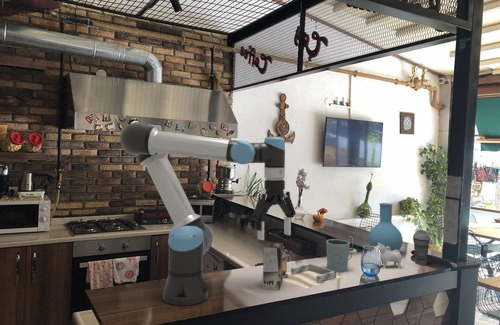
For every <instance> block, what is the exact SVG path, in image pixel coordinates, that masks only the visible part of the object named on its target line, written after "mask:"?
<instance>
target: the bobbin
mask: <svg viewBox="0 0 500 325" xmlns="http://www.w3.org/2000/svg"><path fill="white" fill-rule="evenodd" d="M288 258H289V254H287V253H283V279H284V278H287V277H288V274H286V273H287V272H288V271H287V269H288V268H287V266H288V260H287V259H288Z"/></svg>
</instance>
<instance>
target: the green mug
mask: <svg viewBox="0 0 500 325" xmlns="http://www.w3.org/2000/svg"><path fill="white" fill-rule="evenodd" d="M325 243H326V269H330V270H333V271H336V273H343V272H344V273H345V272H347V271H348V265H349V256H350V246H351V242H350V241H348V240H345V239H340V238H331V239H327V240H326V242H325Z"/></svg>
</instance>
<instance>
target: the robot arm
mask: <svg viewBox="0 0 500 325" xmlns="http://www.w3.org/2000/svg"><path fill="white" fill-rule="evenodd" d="M119 141H120V146H121V147H122V148H123V150H124V151H125V152H126V153H128V154H129V155H132V156H135V157H136V159H137V161H138V163H139V165H140V166H142V167H145V168H146V170H147V172H148V174H149V175H150V177H151V179H152V182H153V184H154V186H155V189H156V190H157V192H158V194H159V196H160V198H161V200H162V202H163V204H164V206H165V208H166V210H167V212H168V215H169V216H170V218H171V221H172V222H173V227H172V230H171V231H170V232H169V233H168V240H167V244H168V263H167V264H168V267H167V268H168V271H167V272H168V273H167V274H168V276H167V279H166V281H165V285H164V288H163V291H162V300H163V302H165V303H167V304H170V305H174V306H175V305H176V306H191V305H192V306H193V305H196V304H197V305H198V304H201V303H202V302H205V301H206V300H207V299H208V296H209V291H208V290H209V289H208V286H207V283H206V281H205V277H204V272H203V271H204V255H205V254H207V252H208V251H209V250H210V249H211V247H212V244H213V240H214V234H213V231H212V229H211V228H210V227H209V226H208V225H207V224H205V222H204V220H203V218H202V216H201V215H199V214H197V213H195V211H194V209H193V207H192V205H191V203H190V201H189V199H188V197H187V195H186V192H185V191H184V189H183V186H182V185H181V183H180V180H179V179H178V178H179V177H177V175H176V172H175V170H174V168H173V167H172V164H171V162H170V161H169V158H168V155H173V156H181V157H188V158H195V159H205V160H212V161H218V162H219V161H220V162H227V163H234V164H239V165H248V164H264V174H263V176H264V182H263V184H264V191H265V193H262V192H261V193H258V196H257V197H258V198H257V202H256V204H255V208H254V210H253V213H252V215H251V216H252V217H251V220H253V221H255V222H256V225H255V227H256V228H255V229H256V231H257V240H259V241H265V221H264V219H265V217H266V216H267V214H268V212H269V210H270V208H271V207H273V206H276V205H278V206H279V208H280V209H281V211H282V212H283V214H284V215H285V216H284V217H283V234H284V235H285V236H286V235H287V236H291V235H292V234H291V233H292V230H291V227H292V218H295V216H296V211H295V207H294V205H293V201H292V198H291V192H290V191H285V190H286V181H285V180H284V179H285V178H286V175H285V174H286V170H285V169H286V166H285V165H286V145H285V142H286V141H285V138H283V137H281V136H277V137H276V136H274V137H272V136H270V137H269V136H267V137H265V138H264V141H263V142H249V141H247V140H234V139H228V138H227V139H226V138H220V137H218V138H217V137H212V136H211V137H210V136H205V135H204V136H202V135H194V134H186V133H180V132H170V131H163V130H161V129H160V128H158V127H156V126H155V125H152V124H144V123H140V122H132V123H130V124H128V125H126V126H125V127H124V128H123V130H121V133H120V137H119Z"/></svg>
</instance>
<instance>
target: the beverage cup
mask: <svg viewBox="0 0 500 325" xmlns="http://www.w3.org/2000/svg"><path fill="white" fill-rule="evenodd" d="M418 226H419V227H418V229H419V230H416V231H415V232H414V233H413V236H412V241H413V246H414V247H413V249H414V251H413V252H414V261H415V262H414V263H415V264H416V265H417V266H426V265H427V261H428V254H429V245H430V240H431V238H430V235H429V233H428V232H427V231H425V230H423V229H422V228H421V220H420V219H419V220H418Z"/></svg>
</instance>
